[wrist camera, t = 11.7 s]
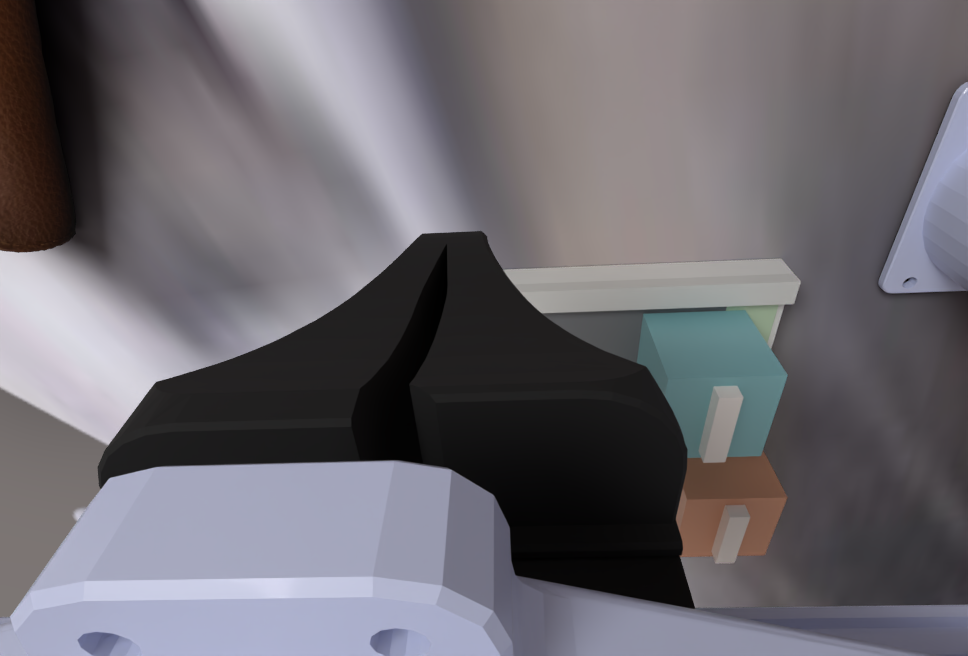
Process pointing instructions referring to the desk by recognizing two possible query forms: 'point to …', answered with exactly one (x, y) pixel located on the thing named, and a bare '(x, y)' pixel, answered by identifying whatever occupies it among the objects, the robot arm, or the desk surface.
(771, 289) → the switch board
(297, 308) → the desk surface
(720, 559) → the orange block with handle
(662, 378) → the teal handled block
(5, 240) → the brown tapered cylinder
